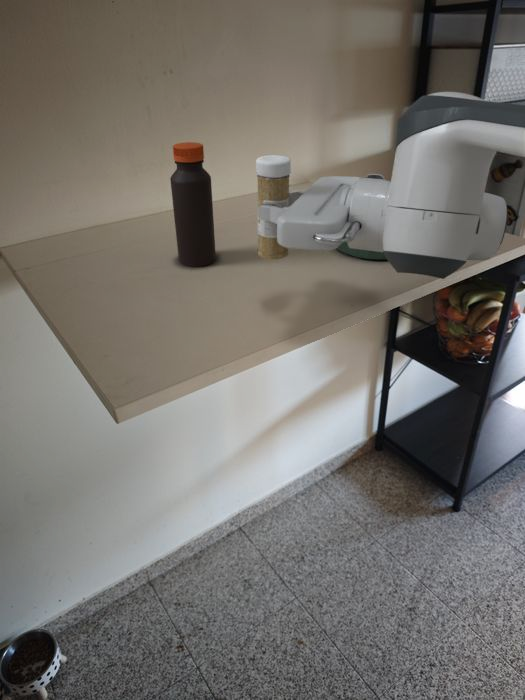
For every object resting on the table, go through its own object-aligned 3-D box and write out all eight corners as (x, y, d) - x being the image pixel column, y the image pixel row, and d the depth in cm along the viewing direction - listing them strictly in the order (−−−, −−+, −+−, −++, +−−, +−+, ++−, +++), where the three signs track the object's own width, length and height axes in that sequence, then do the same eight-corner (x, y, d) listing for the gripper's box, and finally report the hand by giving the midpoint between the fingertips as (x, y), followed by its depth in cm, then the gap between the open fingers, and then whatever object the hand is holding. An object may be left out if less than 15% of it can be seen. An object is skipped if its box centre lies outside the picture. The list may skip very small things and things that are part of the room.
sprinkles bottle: (259, 248, 74) (257, 153, 67) (289, 249, 74) (291, 154, 66) (255, 260, 71) (253, 161, 63) (287, 261, 70) (289, 162, 63)
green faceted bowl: (393, 230, 104) (397, 206, 101) (426, 258, 92) (431, 232, 89) (323, 235, 102) (325, 211, 99) (347, 265, 89) (350, 238, 87)
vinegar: (223, 260, 92) (217, 145, 81) (193, 271, 88) (182, 151, 77) (201, 250, 96) (192, 139, 85) (171, 259, 92) (158, 145, 81)
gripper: (348, 269, 58) (238, 254, 62) (377, 214, 74) (289, 205, 78) (352, 216, 55) (236, 204, 59) (383, 171, 70) (290, 163, 75)
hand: (267, 204), depth 69 cm, fingers closed on sprinkles bottle, 4 cm apart
